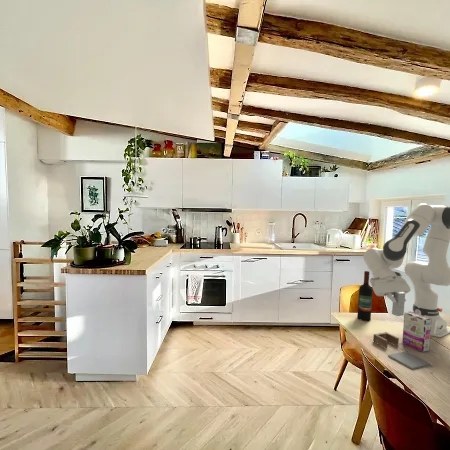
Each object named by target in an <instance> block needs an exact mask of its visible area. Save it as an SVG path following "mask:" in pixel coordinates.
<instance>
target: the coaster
mask: <svg viewBox="0 0 450 450" xmlns="http://www.w3.org/2000/svg"><path fill="white" fill-rule="evenodd" d="M387 355H388V356H387V357H389V356H390V357H391V359H392V358H393V359H392V360H394V361H396V362H397V361H398V362H397V363H400V365H403V366H404V367H407V368H409V369H411V370H417V369H418V370H419V369H421V368H425V367H426V368H427V367H429V366H432V363H431V362H429V361H427V360H426V359H423V358H421V357H419V356H417V355H416V354H414V353H412V352H409V351H407V350H404V351H400V352H395V353H391V354H387ZM390 357H389V358H390Z"/></svg>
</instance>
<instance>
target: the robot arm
mask: <svg viewBox="0 0 450 450" xmlns="http://www.w3.org/2000/svg"><path fill="white" fill-rule="evenodd" d="M408 214H409V215H408V216H407V217H406V219H405V220H404V223H403V224H402V227H401V228H400V229H399V230H398V232H397V234H396V235H395V236H394V237H393V238H391V239H389V240H387V241H386V242H385V243H384V244H383V246H382V249H378V248H375V247H371V248H369V249H367V250H366V251H365V252H364V254H363V257H362V258H363V261H364V263H365V265H366V266H367V269H368V270H370V271H369V272H371V274H372V277H371V278H369V282H370V284H371V287H372V290H373V292H374V294H375V295H376V296H377V297H383V296H386V297H387V299H389V300H390V301H391V302H392V304H393V303H397V302H398V301H397V299H396V298H394V297H393V294H394V292H396V291H401V292H404V293H405V295H406V294H408V293H410V291H411V287H410V285H409V284H408V282H407V281H406V279H405V278H404V277H403V274H402V273H401V272H398V271H395V270H394V269H398V268H399V267H401V266H402V265H403V262H404V259H405V255H406V253H407V249H408V247H407V246H408V244H409V242H410V241H411V240H412V238H413V237H420V236H423V234H424V233H425V232H426V231H427V230H428V228H429V230H428V232H427V235H426V238H425V241H424V244H423V248H422V250H423V251H422V252H423V253H424V255H425V256H427V257H428V262H424V261H418V260H417V261H415V260H413V261H408V262H407V263H406V264H405V265H404V273H405V276H406V277H407V278H408V279H409V280H410V281H411V284H412V286H413V291H414V301H413V304H412V312H413V313H416V314H419V315H422V316H425V317H428V318H431V319H432V320H431V333H430V337H436V338H442V337H444V336H446V335H449V334H450V328H448V327H447V320H446V319H445V318H443V317H442V316H441V315H440V313H442V312H443V308H441V307H438V305H439V304H438V303H439V295H438V293H437V291H436V290H435V289H433V288H432V286H431V285H434V286H440V287H441V286H442V287H448V286H450V266H449V264H448V261H447V260H448V259H447V254H448V250H449V246H450V205H448V206H445V205H438V204H437V205H430V204H428V203H420V204H418V205H417V206H415V208H414V209H413V210H411V212H410V213H408ZM405 302H407V299H406V298H405Z"/></svg>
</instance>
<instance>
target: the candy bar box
mask: <svg viewBox="0 0 450 450" xmlns="http://www.w3.org/2000/svg"><path fill="white" fill-rule="evenodd" d="M431 320H432V319H431V318H428V317H425V316H422V315H419V314H416V313H413V311H404V315H403V327H402V328H403V329H402V341H401V343H402V344H404V345H405V346H409V347H411V348H413V349H415V350H417V351H419V352H422V353H427V352H430V344H431V336H430V333H431Z"/></svg>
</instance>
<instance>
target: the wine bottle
mask: <svg viewBox="0 0 450 450" xmlns="http://www.w3.org/2000/svg"><path fill="white" fill-rule="evenodd" d="M363 274H364V275H363V283H362V284H361V285H360V286H359V288H358V301H357V317H356V318H357V320H360V321H362V322H370V321H371V320H372V319H371V318H372V316H371V315H372V304H373V292H374V290H373V288H372V285H371V286H370V284H369V282H370V271H366V270H365V271H364V273H363Z"/></svg>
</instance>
